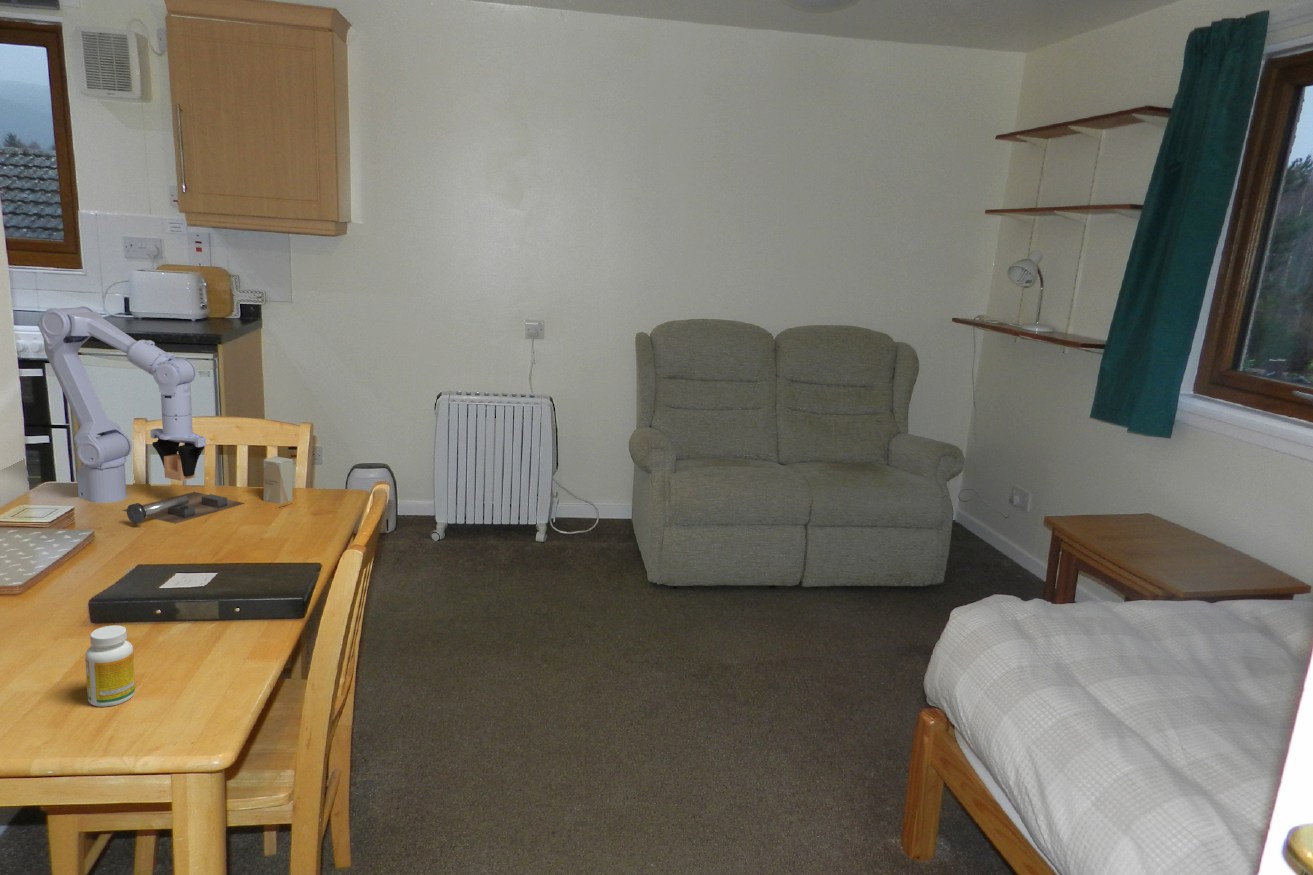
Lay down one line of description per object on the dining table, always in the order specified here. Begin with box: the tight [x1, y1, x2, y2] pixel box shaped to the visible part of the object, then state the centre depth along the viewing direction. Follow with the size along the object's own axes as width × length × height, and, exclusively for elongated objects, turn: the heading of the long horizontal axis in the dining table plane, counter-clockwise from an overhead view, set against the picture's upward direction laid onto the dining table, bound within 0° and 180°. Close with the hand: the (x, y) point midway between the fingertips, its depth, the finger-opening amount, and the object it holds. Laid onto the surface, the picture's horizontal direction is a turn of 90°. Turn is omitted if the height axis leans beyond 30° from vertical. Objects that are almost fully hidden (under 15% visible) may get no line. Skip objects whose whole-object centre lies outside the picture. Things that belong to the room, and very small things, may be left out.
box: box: [262, 456, 294, 509], centre depth 196 cm, size 5×4×11 cm
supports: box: [168, 493, 228, 518], centre depth 186 cm, size 5×11×2 cm, turn 158°
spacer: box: [163, 453, 196, 482], centre depth 186 cm, size 5×4×5 cm
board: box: [121, 491, 246, 525], centre depth 188 cm, size 16×18×1 cm
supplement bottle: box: [84, 624, 136, 708], centre depth 112 cm, size 5×5×10 cm
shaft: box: [126, 496, 189, 524], centre depth 177 cm, size 4×12×4 cm, turn 158°
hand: (179, 473), depth 187 cm, fingers closed on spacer, 5 cm apart
